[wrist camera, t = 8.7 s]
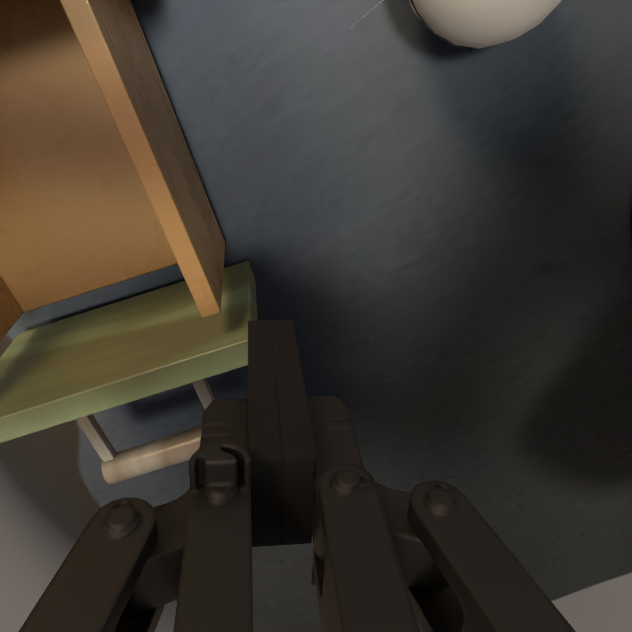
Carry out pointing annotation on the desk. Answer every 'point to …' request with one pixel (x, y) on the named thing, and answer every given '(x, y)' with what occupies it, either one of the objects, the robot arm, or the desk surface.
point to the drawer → (104, 232)
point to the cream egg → (481, 19)
